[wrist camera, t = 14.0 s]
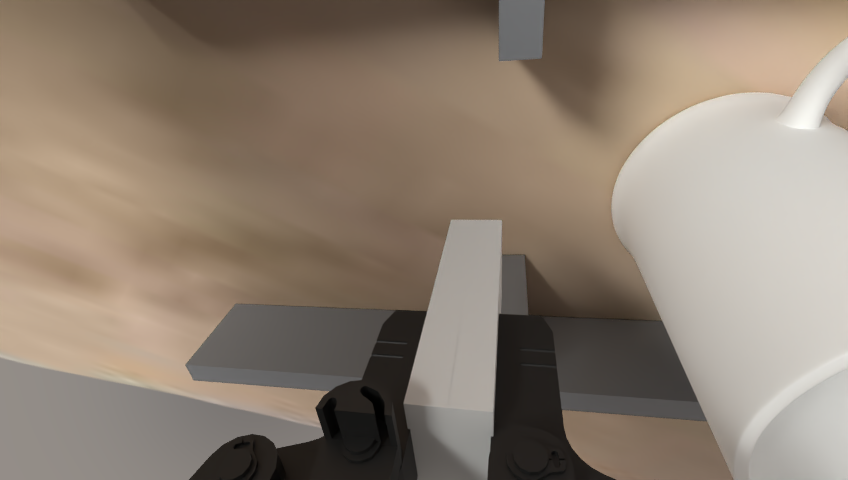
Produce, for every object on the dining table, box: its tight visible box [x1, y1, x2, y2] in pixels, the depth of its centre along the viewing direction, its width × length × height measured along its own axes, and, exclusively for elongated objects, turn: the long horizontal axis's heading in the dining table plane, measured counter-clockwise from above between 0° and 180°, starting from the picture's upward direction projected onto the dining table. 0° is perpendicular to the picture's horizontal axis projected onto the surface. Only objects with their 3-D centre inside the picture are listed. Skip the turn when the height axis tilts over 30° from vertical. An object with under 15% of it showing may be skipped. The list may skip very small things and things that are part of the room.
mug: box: [611, 37, 848, 480], centre depth 12 cm, size 12×8×12 cm
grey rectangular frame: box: [186, 0, 707, 421], centre depth 17 cm, size 20×34×5 cm, turn 95°
